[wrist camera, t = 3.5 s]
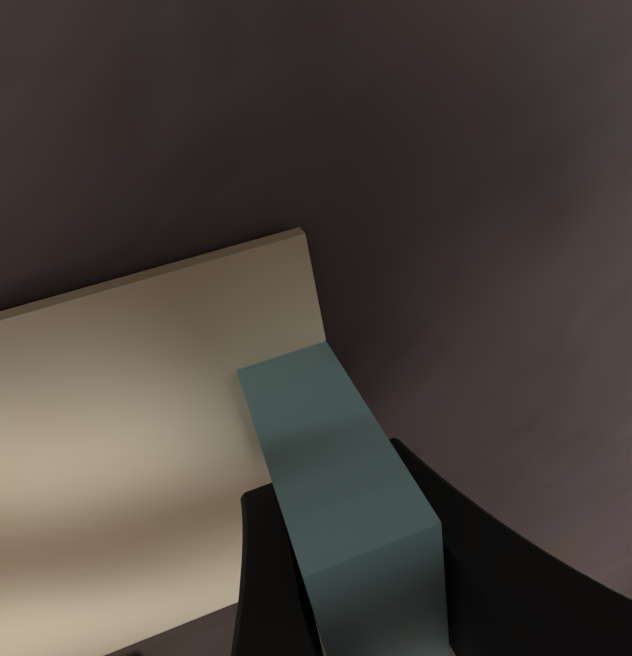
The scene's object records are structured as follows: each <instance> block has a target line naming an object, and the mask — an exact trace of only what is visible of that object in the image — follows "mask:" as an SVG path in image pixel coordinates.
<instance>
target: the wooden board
mask: <svg viewBox="0 0 632 656" xmlns="http://www.w3.org/2000/svg"><path fill="white" fill-rule="evenodd" d="M269 483H273V486H274V490H275V493H276V496H277V499H278V502H279V505H280V508H281V511H282V515H283V518H284V521H285V524H286V527H287V530H288V533H289V537H290V540H291V543H292V546H293V549H294V552H295V555H296V559H297V562H298V565H299V568H300V571H301V574H302V578H303V581H304V584H305V587H306V590H307V593H308V597H309V600H310V603H311V606H312V609H313V613H314V616H315V619H316V622H317V625H318V628H319V631H320V635H321V638H322V641H323V644H324V647H325V650H326V653H327V656H450V652H449V636H448V620H447V604H446V589H445V573H444V557H443V541H442V526H441V521H440V520H439V518H438V516H437V515H436V513H435V512H434V510H433V509H432V507H431V505H430V504H429V502H428V501H427V499H426V498H425V496H424V494H423V493H422V491H421V490H420V488H419V486H418V485H417V483H416V482H415V480H414V479H413V477H412V475H411V474H410V472H409V471H408V469H407V468H406V466H405V464H404V463H403V461H402V460H401V458H400V457H399V455H398V453H397V452H396V450H395V449H394V447H393V446H392V444H391V442H390V441H389V439H388V438H387V436H386V435H385V433H384V431H383V430H382V428H381V427H380V425H379V423H378V422H377V420H376V419H375V417H374V416H373V414H372V412H371V411H370V409H369V408H368V406H367V405H366V403H365V401H364V400H363V398H362V397H361V395H360V394H359V392H358V390H357V389H356V387H355V386H354V384H353V383H352V381H351V379H350V378H349V376H348V375H347V373H346V372H345V370H344V368H343V367H342V365H341V364H340V362H339V361H338V359H337V357H336V356H335V354H334V353H333V351H332V349H331V348H330V346H329V345H328V343H327V342H326V338H325V333H324V328H323V322H322V317H321V312H320V307H319V302H318V296H317V291H316V286H315V281H314V276H313V271H312V265H311V260H310V255H309V250H308V245H307V240H306V234H305V233H304V231H303V230H302V229H301V228H300V227H298V228H294V229H291V230H287V231H284V232H280V233H277V234H273V235H269V236H266V237H262V238H259V239H255V240H252V241H248V242H245V243H241V244H237V245H234V246H230V247H227V248H223V249H220V250H216V251H213V252H209V253H206V254H202V255H198V256H195V257H191V258H188V259H184V260H181V261H177V262H174V263H170V264H167V265H163V266H159V267H156V268H152V269H149V270H145V271H142V272H138V273H135V274H131V275H127V276H124V277H120V278H117V279H113V280H110V281H106V282H103V283H99V284H96V285H92V286H88V287H85V288H81V289H78V290H74V291H71V292H67V293H64V294H60V295H56V296H53V297H49V298H46V299H42V300H39V301H35V302H32V303H28V304H25V305H21V306H17V307H14V308H10V309H7V310H3V311H0V656H104V655H107V654H109V653H112V652H114V651H117V650H119V649H122V648H124V647H127V646H129V645H132V644H134V643H137V642H139V641H142V640H144V639H147V638H149V637H152V636H154V635H157V634H159V633H162V632H164V631H167V630H169V629H172V628H174V627H177V626H179V625H182V624H184V623H187V622H189V621H192V620H194V619H197V618H199V617H202V616H204V615H207V614H209V613H212V612H214V611H217V610H219V609H222V608H224V607H227V606H229V605H232V604H234V603H237V602H238V599H239V587H240V575H241V563H242V508H241V500H240V498H241V497H242V495H243V494H244V493H245V492H247V491H250V490H253V489H256V488H258V487H261V486H264V485H266V484H269Z"/></svg>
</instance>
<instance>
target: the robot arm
mask: <svg viewBox="0 0 632 656" xmlns="http://www.w3.org/2000/svg"><path fill="white" fill-rule="evenodd" d="M389 441H390V442H391V444H392V446H393V447H394V449H395V450H396V452H397V453H398V455H399V457H400V458H401V460H402V461H403V463H404V464H405V466H406V468H407V469H408V471H409V472H410V474H411V475H412V477H413V479H414V480H415V482H416V483H417V485H418V486H419V488H420V490H421V491H422V493H423V494H424V496H425V498H426V499H427V501H428V502H429V504H430V505H431V507H432V509H433V510H434V512H435V513H436V515H437V516H438V518H439V520H440V521H441V526H442V541H443V557H444V573H445V589H446V604H447V620H448V636H449V644H450V646H451V648H452V649H453V651H454V653H455V654H456V656H632V600H631V599H629V598H627V597H625V596H623V595H621V594H619V593H617V592H615V591H613V590H611V589H609V588H607V587H606V586H604V585H602V584H600V583H599V582H597V581H595V580H593V579H591V578H590V577H588V576H586V575H584V574H582V573H581V572H579V571H577V570H575V569H574V568H572V567H570V566H569V565H567V564H565V563H564V562H562V561H560V560H559V559H557V558H555V557H553V556H552V555H550V554H549V553H547V552H545V551H544V550H542V549H541V548H539V547H537V546H536V545H534V544H533V543H531V542H530V541H528V540H527V539H525V538H524V537H522V536H521V535H519V534H518V533H516V532H515V531H513V530H512V529H510V528H509V527H507V526H506V525H504V524H503V523H501V522H500V521H499V520H497V519H496V518H494V517H493V516H492V515H490V514H489V513H487V512H486V511H485V510H483V509H482V508H481V507H479V506H478V505H477V504H475V503H474V502H473V501H471V500H470V499H469V498H467V497H466V496H465V495H463V494H462V493H461V492H459V491H458V490H457V489H456V488H454V487H453V486H452V485H451V484H449V483H448V482H447V481H446V480H444V479H443V478H442V477H441V476H439V475H438V474H437V473H436V472H435V471H433V470H432V469H431V468H430V467H429V466H428V465H426V464H425V463H424V462H423V461H422V460H421V459H419V458H418V457H417V456H416V455H415V454H414V453H413V452H412V451H410V450H409V449H408V448H407V447H406V446H405V445H404V444H403V443H402V442H401V441H400V440H398V439H396V438H392V439H389ZM240 500H241V508H242V563H241V575H240V587H239V599H238V608H237V616H236V623H235V630H234V637H233V644H232V652H231V656H323V652H322V648H321V643H320V639H319V635H318V630H317V626H316V621H315V617H314V613H313V609H312V606H311V603H310V600H309V597H308V593H307V590H306V587H305V584H304V581H303V578H302V574H301V571H300V568H299V565H298V562H297V559H296V555H295V552H294V549H293V546H292V543H291V540H290V537H289V533H288V530H287V527H286V524H285V521H284V518H283V515H282V511H281V508H280V505H279V502H278V499H277V496H276V493H275V490H274V486H273V483H269V484H266V485H264V486H261V487H258V488H256V489H253V490H250V491H247V492H245V493H244V494H243V495H242V497H241V498H240Z"/></svg>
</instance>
